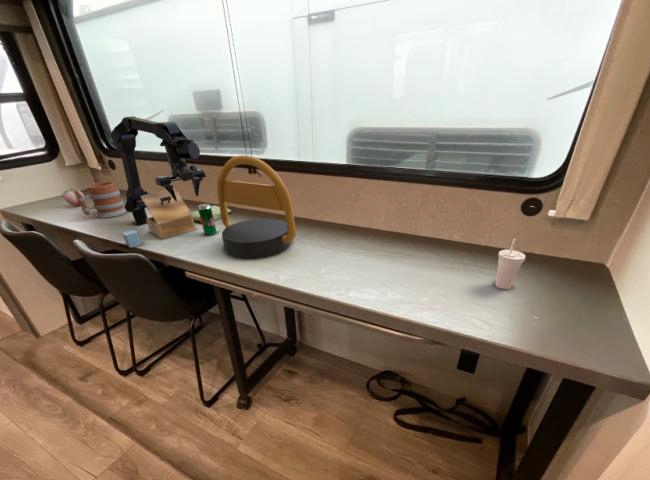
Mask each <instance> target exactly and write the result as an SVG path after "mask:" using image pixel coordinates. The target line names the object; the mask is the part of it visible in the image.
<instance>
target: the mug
mask: <svg viewBox="0 0 650 480" xmlns="http://www.w3.org/2000/svg"><path fill="white" fill-rule="evenodd" d="M86 188H87V190H88V193H89V194H88V195H84V197H83V196H82V195H81V194H80V193H79V192H78V191H77V190H76V191H74V193H75V194H76V196H77V200H78V201H79V203H80V207H81V211H82V212H83V214H84V215H85V216H90V215H91V213H90V211H93V210H96V217H98V218H99V219H112V218H116V217H121V216H123V215H125V214H126V213H128V212H127V211H126V209H125V208H124V207H125V204H124V201H123V199H122V198H121V195H120V194H121V192H120V189H119V188H117V185H116V183H115V181H114V180H113V181H111V180H109V181H100V182H94V183H90V184H89V185H87V186H86ZM90 199H91V200H92V202H93V205H92V206H88V205H87V202H86V201H85V200H90Z"/></svg>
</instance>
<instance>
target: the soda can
mask: <svg viewBox="0 0 650 480" xmlns="http://www.w3.org/2000/svg"><path fill="white" fill-rule="evenodd" d="M211 206H212V205H211V204H210V203H200V204H199V205H198V207H197V211H199V215H200V219H201V222H200V223H201V227H202V231H203V234H204V235H205V236H213V235H215V234H216V233H217V227H216V222H215V220H214V218H213V214H212V209H211Z"/></svg>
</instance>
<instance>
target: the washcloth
mask: <svg viewBox="0 0 650 480" xmlns="http://www.w3.org/2000/svg"><path fill="white" fill-rule="evenodd" d="M210 206H211V209H212V214H213V218H214V221H215V220H218V219H221V212H220V207H219V205H218V206H217V205H210ZM227 211H228V214H230V213H231V212H232V210H231V209H229V208H227ZM191 214H192V217H193V221H194V222H200V223H201V219H200V215H199V211H198V210H196V211H193V212H191Z"/></svg>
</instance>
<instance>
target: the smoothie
mask: <svg viewBox="0 0 650 480" xmlns="http://www.w3.org/2000/svg"><path fill="white" fill-rule="evenodd" d="M515 243H516V238H513V239H512V242H511V246H510V249H502V250H500V251H499V252H498V253H497V254H498V255H497V258H498V261H497V270H496V279H495V287H496V288H498V289H501V290H509V289H511V287H512V285H513V283H514V280H515V279H516V276H517V274H518V272H519V270H520V268H521V266H522V264H523V262H525V260H526V254H525V253H523V252H521V251H520V250H514V247H515Z"/></svg>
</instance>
